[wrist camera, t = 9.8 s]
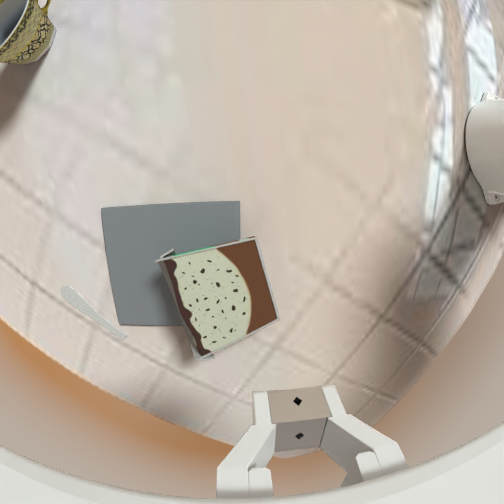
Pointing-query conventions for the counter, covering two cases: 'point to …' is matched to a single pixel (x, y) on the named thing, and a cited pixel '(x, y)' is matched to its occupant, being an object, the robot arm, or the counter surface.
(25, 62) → the ceramic cup
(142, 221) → the mat
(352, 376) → the counter surface
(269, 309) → the food container
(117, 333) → the butter knife
